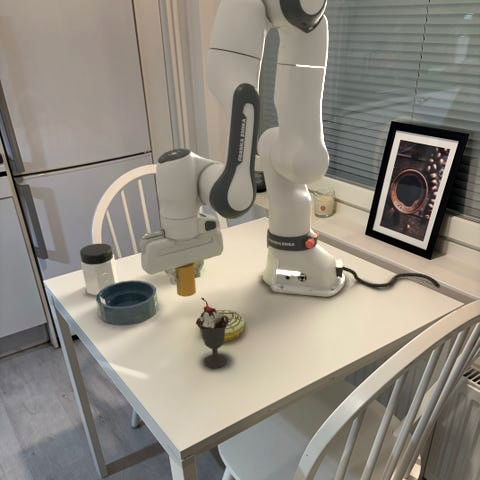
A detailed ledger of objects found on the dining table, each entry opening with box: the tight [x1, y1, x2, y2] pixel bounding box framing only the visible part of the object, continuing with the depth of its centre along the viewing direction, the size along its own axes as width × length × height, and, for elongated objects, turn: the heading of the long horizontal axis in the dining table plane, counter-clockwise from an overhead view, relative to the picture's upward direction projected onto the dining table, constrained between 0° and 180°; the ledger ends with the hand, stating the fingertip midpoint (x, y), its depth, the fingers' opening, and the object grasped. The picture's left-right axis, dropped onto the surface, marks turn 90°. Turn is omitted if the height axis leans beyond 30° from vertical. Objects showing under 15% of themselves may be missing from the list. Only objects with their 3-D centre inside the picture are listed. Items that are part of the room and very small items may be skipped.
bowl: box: [95, 280, 159, 326], centre depth 122 cm, size 15×15×5 cm
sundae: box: [195, 297, 229, 369], centre depth 100 cm, size 7×7×15 cm
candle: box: [174, 263, 197, 297], centre depth 117 cm, size 5×5×8 cm
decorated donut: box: [198, 308, 246, 342], centre depth 113 cm, size 10×11×4 cm
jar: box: [79, 243, 120, 296], centre depth 131 cm, size 9×8×12 cm
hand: (185, 280), depth 118 cm, fingers closed on candle, 4 cm apart
